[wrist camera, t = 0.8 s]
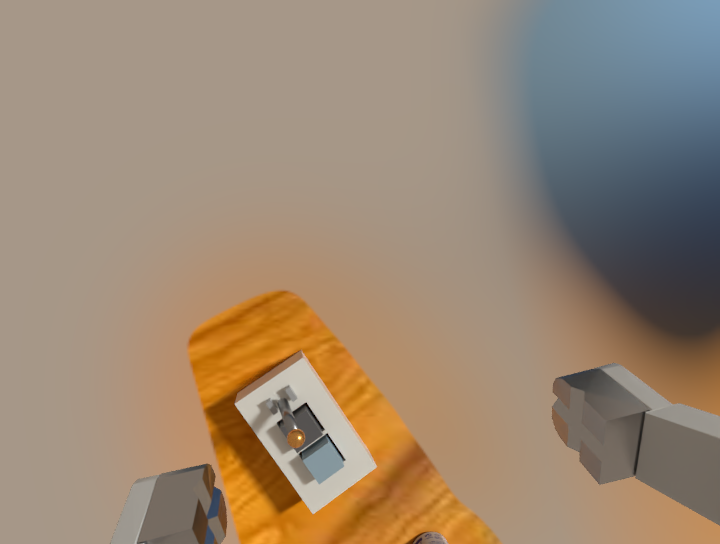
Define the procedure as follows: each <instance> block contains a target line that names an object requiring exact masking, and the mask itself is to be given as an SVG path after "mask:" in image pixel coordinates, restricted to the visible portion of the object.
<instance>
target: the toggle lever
mask: <svg viewBox="0 0 720 544" xmlns="http://www.w3.org/2000/svg"><path fill="white" fill-rule="evenodd" d="M277 405H278V408H279V411H280V413H281V416H282V419H283V422H284V424H285V427H286V430H287V433H288V436H287V442H288V444H289V445H290V446H291V447H293V448H299V447H301V446H302V445H303V444H304V442H305V434H304V432H303V431H302V430H300V429H299V427H298V425H297V422H296V420H295V417H294V415H293V412H292V410H291V407H290V405H289V402H288V400H287V399H286V398H281V399H279V400H278V403H277Z"/></svg>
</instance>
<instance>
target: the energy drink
mask: <svg viewBox="0 0 720 544" xmlns="http://www.w3.org/2000/svg"><path fill="white" fill-rule="evenodd" d="M413 544H448V542H447V541H446V539H445V538H444V537H443V536H442V535H441V534H439V533H437V532H427V533H424V534H422V535H420V536H419V537H418V538H417V539H416V540H415V541H414V542H413Z"/></svg>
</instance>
